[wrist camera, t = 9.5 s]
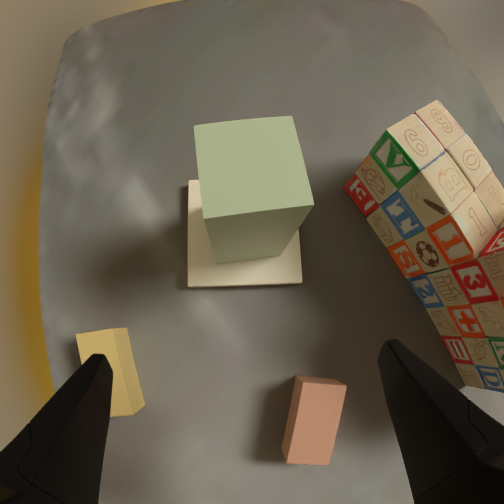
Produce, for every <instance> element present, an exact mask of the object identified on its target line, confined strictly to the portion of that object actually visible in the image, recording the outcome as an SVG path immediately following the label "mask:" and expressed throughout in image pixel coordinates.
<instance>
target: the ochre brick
mask: <svg viewBox="0 0 504 504" xmlns="http://www.w3.org/2000/svg"><path fill="white" fill-rule="evenodd" d="M76 339H77V344H78V349H79V354H80V358H81V363H82V364H83V363H84V362H85V361H86V360H87V359H88V358H89V357H90V356H91V355H92V354H94V353H97V354H104V355H105V356H106V357H107V359H108V361H109V363H110V365H111V367H112V370H113V385H112V398H111V411H110V417H114V416H127V415H134V414H135V413H136V412H138V411H139V410H140V409H141V408H142V407H143V406H144V405H145V403H144V399H143V395H142V392H141V388H140V384H139V380H138V376H137V372H136V368H135V364H134V359H133V355H132V350H131V346H130V341H129V336H128V332H127V328H112V329H106V330H100V331H94V332H88V333H82V334H76Z"/></svg>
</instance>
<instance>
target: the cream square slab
mask: <svg viewBox="0 0 504 504" xmlns="http://www.w3.org/2000/svg"><path fill="white" fill-rule="evenodd" d="M301 283H302V268H301V253H300V240H299V228H298V230H297V231H296V233H295V234H294V236H293V237H292V239H291V240H290V242H289V243H288V245H287V246H286V248H285V249H284V251H283V252H282V254H281V255H279V256H272V257H265V258H258V259H251V260H245V261H238V262H231V263H224V264H216V260H215V257H214V253H213V250H212V247H211V243H210V240H209V236H208V233H207V229H206V226H205V222H204V218H203V210H202V201H201V192H200V183H199V180H189V194H188V287H190V288H194V287H231V286H260V285H284V284H301Z"/></svg>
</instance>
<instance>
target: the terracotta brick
mask: <svg viewBox="0 0 504 504" xmlns="http://www.w3.org/2000/svg"><path fill="white" fill-rule="evenodd" d="M346 388H347V386H346V385H345V384H343V383H341V382H339V381H338V380H336V379H331V378H319V377H309V376H299V375H296V377H295V382H294V388H293V393H292V398H291V404H290V409H289V414H288V419H287V424H286V429H285V433H284V438H283V443H282V448H281V449H282V452H283V454H284V457H285V460H286V463H293V464H317V465H329V462H330V458H331V455H332V451H333V447H334V443H335V439H336V434H337V430H338V426H339V421H340V417H341V412H342V408H343V403H344V398H345V393H346Z"/></svg>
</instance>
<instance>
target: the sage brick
mask: <svg viewBox="0 0 504 504" xmlns="http://www.w3.org/2000/svg"><path fill="white" fill-rule="evenodd" d="M194 133H195V144H196V154H197V164H198V174H199V183H200V192H201V201H202V210H203V218H204V222H205V226H206V229H207V233H208V236H209V240H210V243H211V247H212V250H213V253H214V257H215V260H216V264H224V263H231V262H238V261H245V260H251V259H258V258H265V257H272V256H279V255H281V254H282V252H283V251H284V249H285V248H286V246H287V245H288V243H289V242H290V240H291V239H292V237H293V236H294V234H295V233H296V231H297V230H298V228H299V227H300V225H301V224H302V222H303V221H304V219H305V218H306V216H307V215H308V213H309V212H310V210H311V209H312V207H313V206H314V201H313V196H312V192H311V188H310V184H309V180H308V176H307V172H306V168H305V164H304V160H303V156H302V152H301V148H300V144H299V140H298V137H297V133H296V129H295V126H294V122H293V118H292V116H283V117H268V118H256V119H245V120H235V121H226V122H218V123H210V124H203V125H196V126H194Z"/></svg>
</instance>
